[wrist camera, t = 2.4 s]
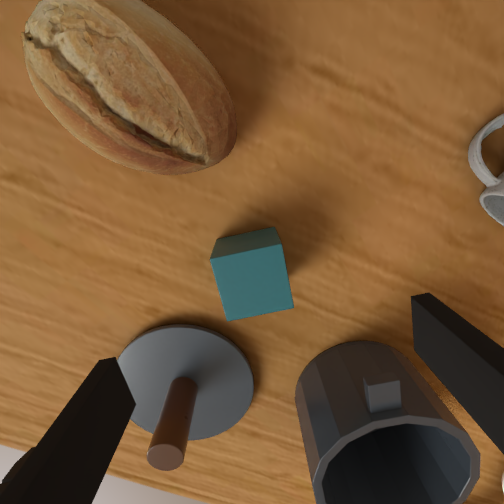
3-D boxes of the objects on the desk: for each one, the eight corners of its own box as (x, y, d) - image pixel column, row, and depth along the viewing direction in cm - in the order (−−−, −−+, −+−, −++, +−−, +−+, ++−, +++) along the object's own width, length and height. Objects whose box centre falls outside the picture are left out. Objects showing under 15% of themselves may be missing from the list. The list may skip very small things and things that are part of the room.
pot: (308, 462, 36) (329, 563, 27) (280, 333, 30) (295, 407, 21) (418, 442, 36) (477, 539, 27) (412, 306, 30) (484, 372, 21)
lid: (143, 441, 35) (111, 530, 26) (95, 336, 30) (39, 404, 22) (265, 418, 34) (272, 503, 26) (236, 307, 29) (232, 367, 21)
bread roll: (203, 202, 26) (185, 221, 19) (38, 101, 23) (-62, 75, 16) (261, 100, 24) (269, 75, 16) (85, -26, 21) (-6, -128, 13)
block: (230, 291, 29) (227, 321, 24) (216, 239, 27) (209, 259, 22) (285, 280, 29) (294, 308, 23) (274, 226, 27) (281, 243, 22)
